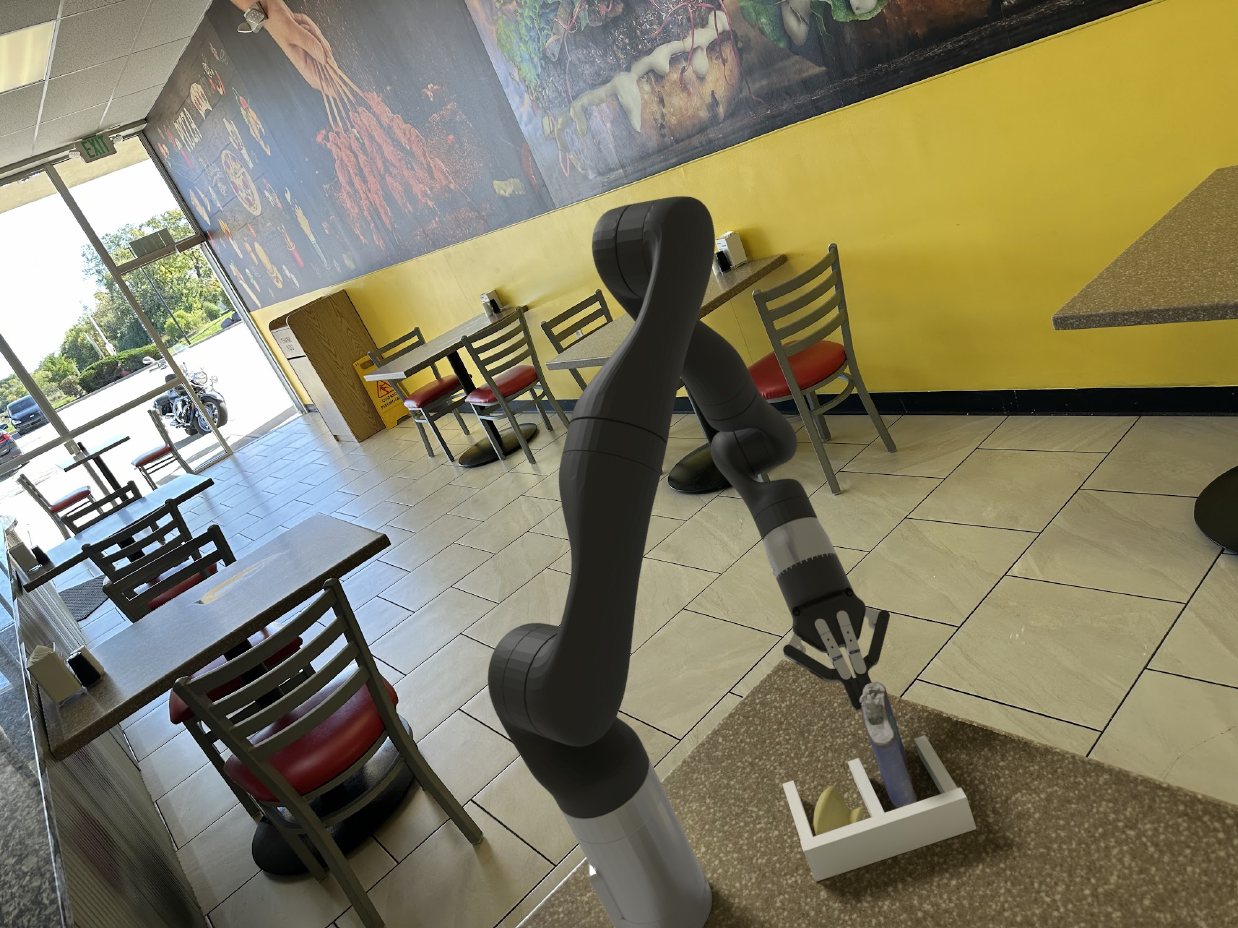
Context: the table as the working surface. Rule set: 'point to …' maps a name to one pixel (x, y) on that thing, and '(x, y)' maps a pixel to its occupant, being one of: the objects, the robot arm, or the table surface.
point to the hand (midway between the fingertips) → (869, 711)
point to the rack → (884, 822)
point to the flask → (887, 744)
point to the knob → (834, 812)
